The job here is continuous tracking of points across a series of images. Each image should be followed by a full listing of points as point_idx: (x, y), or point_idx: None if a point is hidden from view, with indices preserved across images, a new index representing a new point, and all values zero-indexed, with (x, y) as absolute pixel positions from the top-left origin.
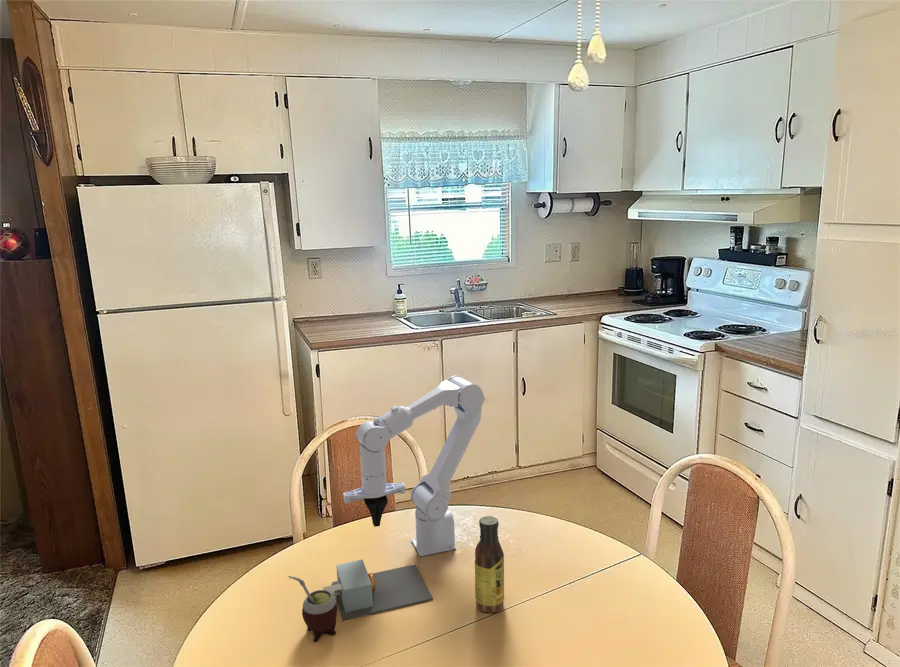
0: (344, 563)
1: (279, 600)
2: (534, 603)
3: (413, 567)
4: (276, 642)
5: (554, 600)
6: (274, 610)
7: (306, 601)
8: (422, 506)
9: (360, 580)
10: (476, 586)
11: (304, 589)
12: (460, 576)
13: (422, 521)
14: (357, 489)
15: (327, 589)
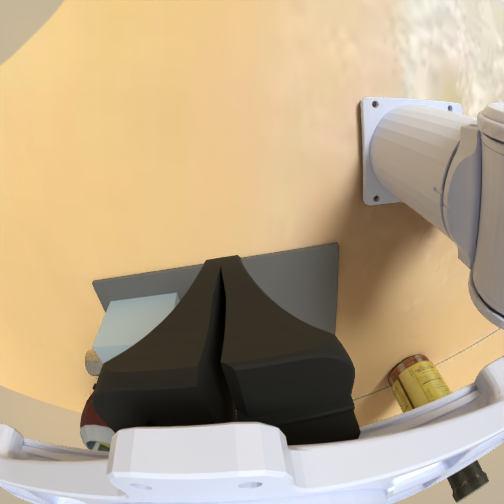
0: (114, 346)
1: (12, 309)
2: (454, 361)
3: (328, 260)
4: (61, 391)
5: (474, 354)
6: (18, 332)
7: (89, 449)
8: (493, 283)
9: None
10: (402, 408)
11: None
12: (412, 299)
13: (446, 234)
14: (44, 488)
15: (98, 375)
